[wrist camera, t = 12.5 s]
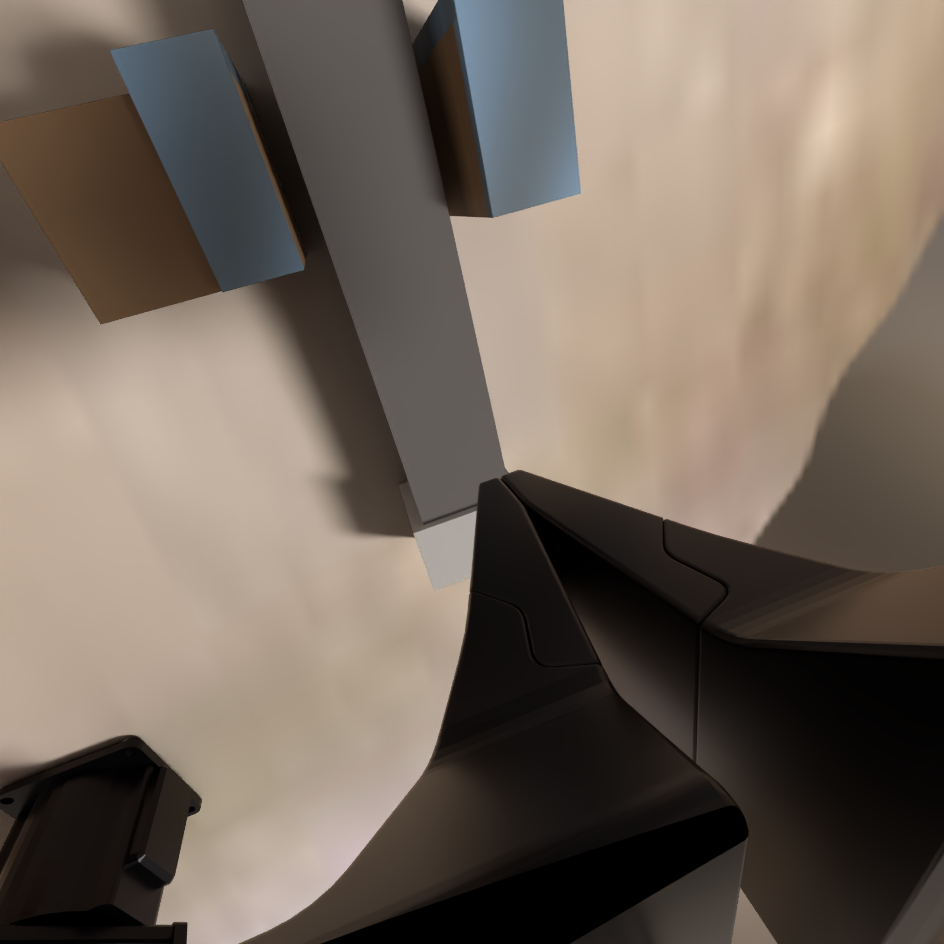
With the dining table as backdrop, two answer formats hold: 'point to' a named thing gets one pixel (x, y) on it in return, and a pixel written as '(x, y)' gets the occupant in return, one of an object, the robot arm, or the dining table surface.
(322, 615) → the dining table surface
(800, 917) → the robot arm
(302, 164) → the long grey plank
